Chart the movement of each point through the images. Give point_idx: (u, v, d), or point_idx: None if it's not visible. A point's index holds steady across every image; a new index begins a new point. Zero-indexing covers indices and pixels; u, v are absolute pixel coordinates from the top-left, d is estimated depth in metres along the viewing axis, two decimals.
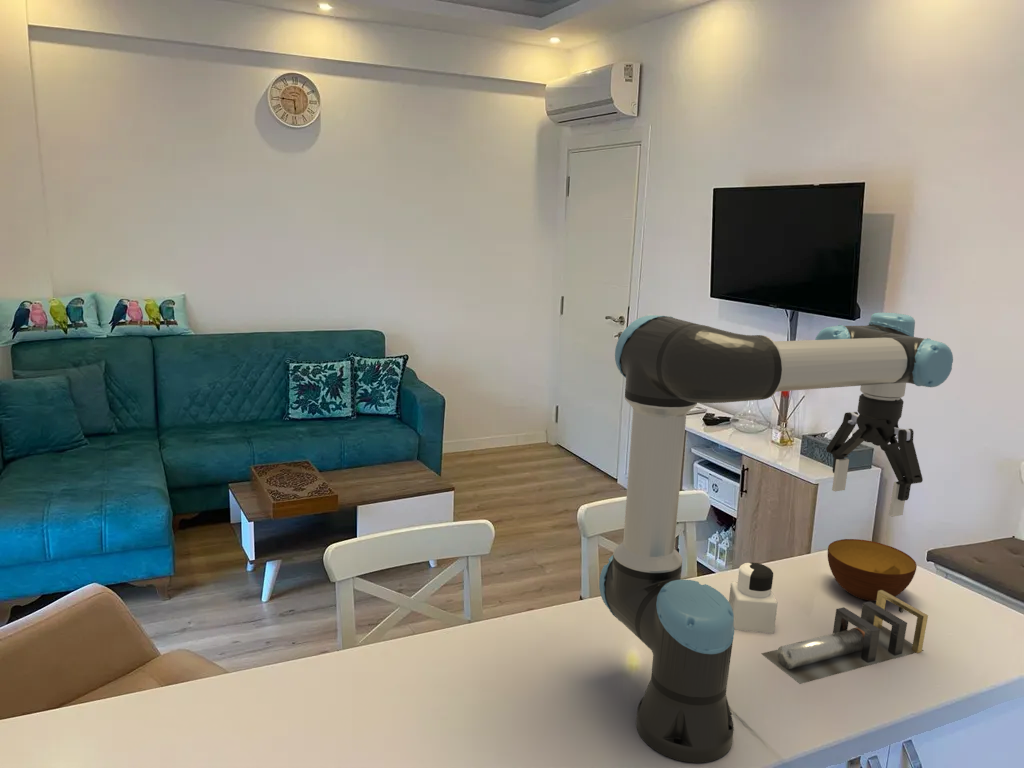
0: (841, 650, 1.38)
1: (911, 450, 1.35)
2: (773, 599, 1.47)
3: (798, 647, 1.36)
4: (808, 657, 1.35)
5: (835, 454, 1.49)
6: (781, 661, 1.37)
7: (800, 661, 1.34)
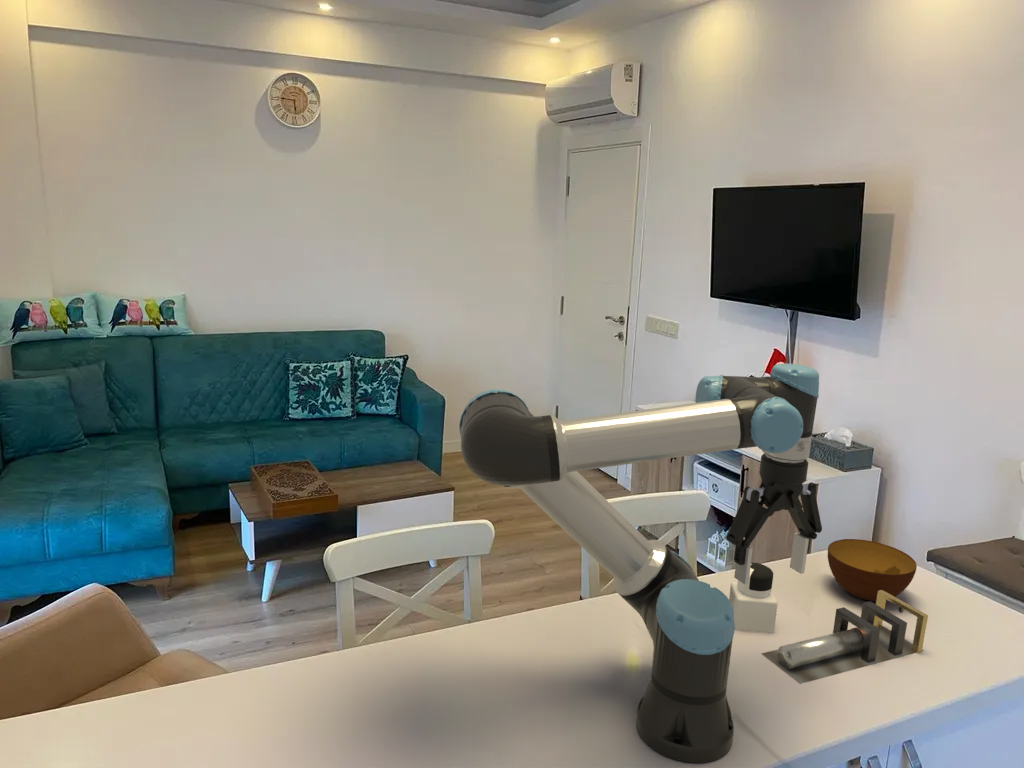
0: (841, 650, 1.38)
1: (744, 511, 1.24)
2: (773, 599, 1.47)
3: (798, 646, 1.36)
4: (808, 657, 1.35)
5: None
6: (781, 661, 1.37)
7: (800, 661, 1.34)
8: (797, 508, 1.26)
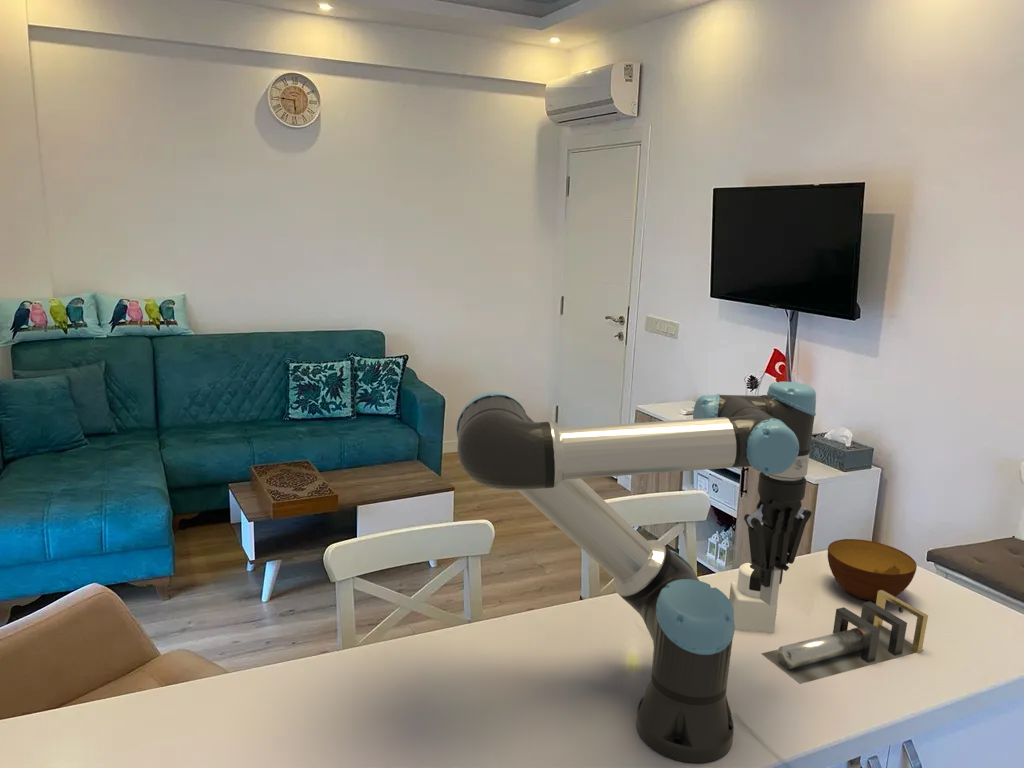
0: (841, 651, 1.38)
1: (754, 537, 1.26)
2: None
3: (798, 647, 1.36)
4: (808, 657, 1.35)
5: None
6: (781, 661, 1.37)
7: (800, 661, 1.34)
8: (787, 528, 1.26)
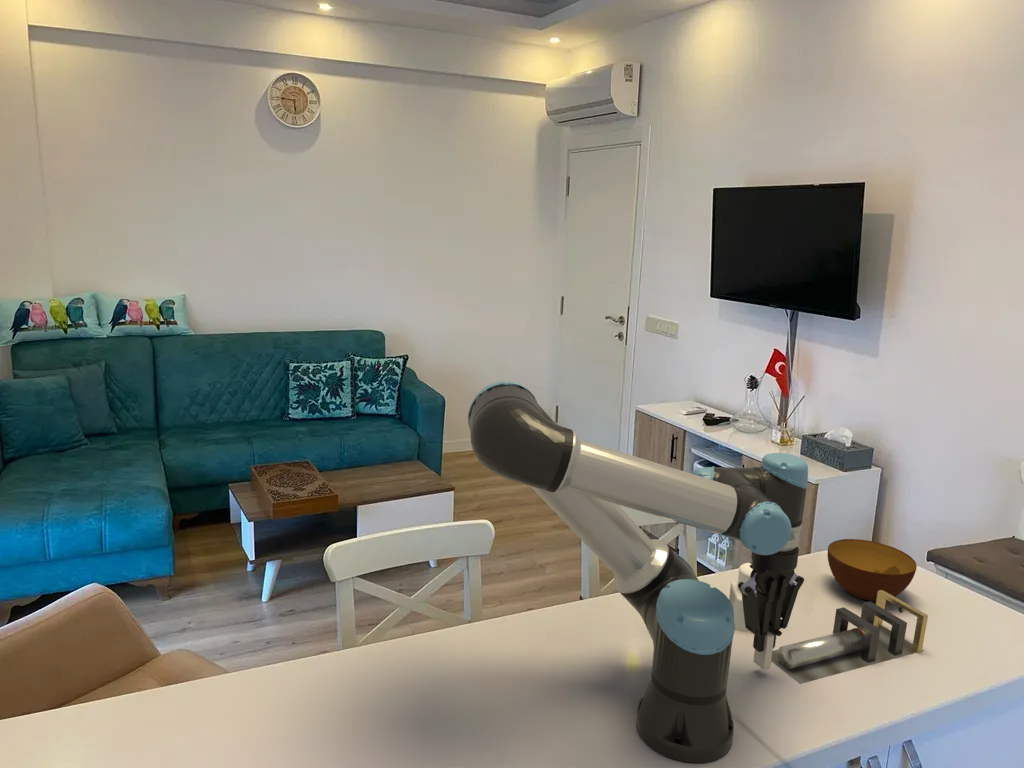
0: (841, 651, 1.38)
1: (748, 605, 1.29)
2: None
3: (799, 647, 1.36)
4: (809, 657, 1.35)
5: None
6: (781, 661, 1.37)
7: (800, 661, 1.34)
8: (780, 595, 1.29)
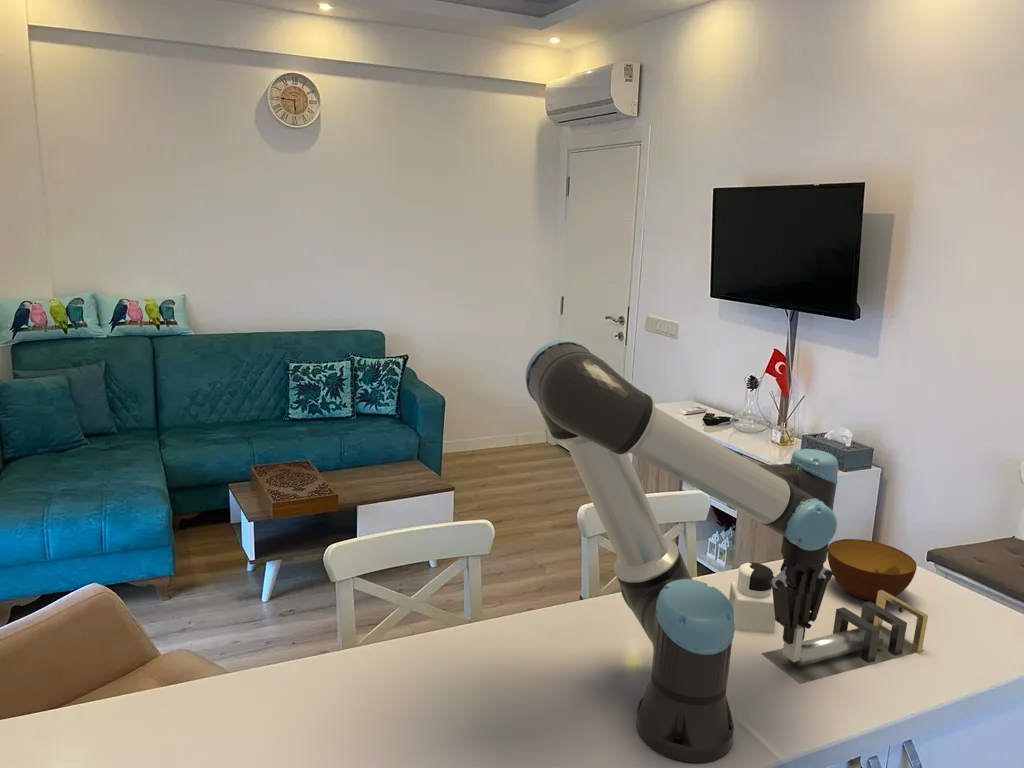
0: (849, 649, 1.39)
1: (778, 598, 1.31)
2: None
3: (807, 645, 1.36)
4: (817, 656, 1.36)
5: None
6: None
7: (809, 659, 1.35)
8: (810, 588, 1.32)
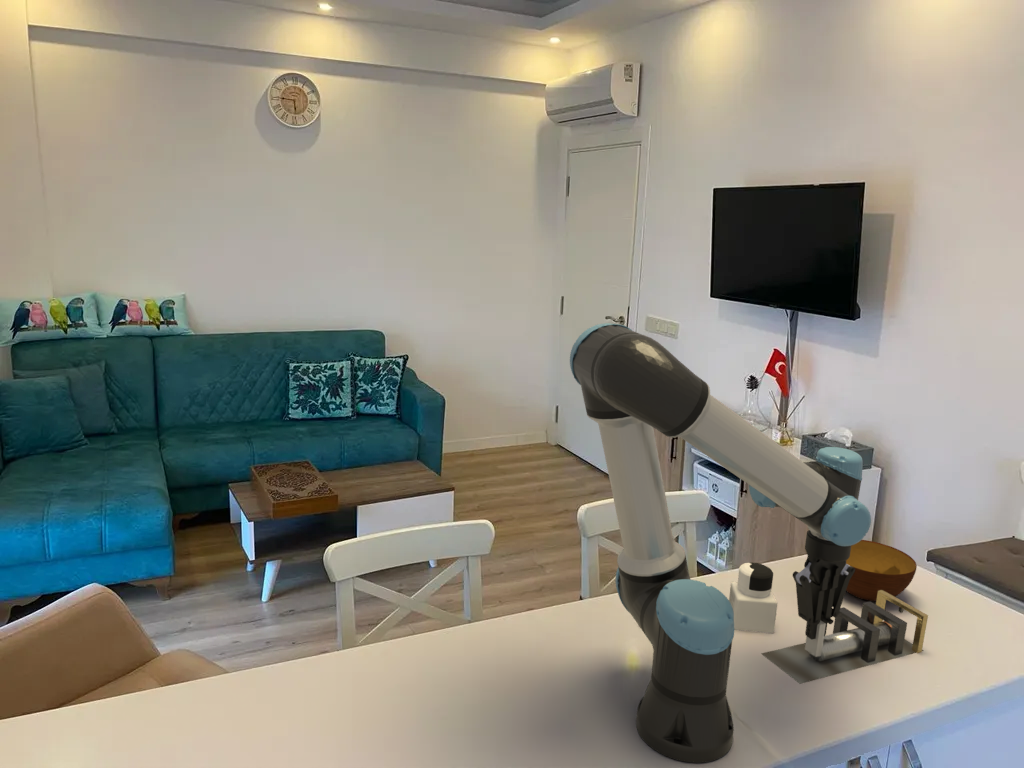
0: None
1: (802, 593, 1.33)
2: (773, 599, 1.47)
3: (829, 640, 1.38)
4: (838, 650, 1.38)
5: None
6: None
7: (830, 654, 1.37)
8: (833, 584, 1.34)
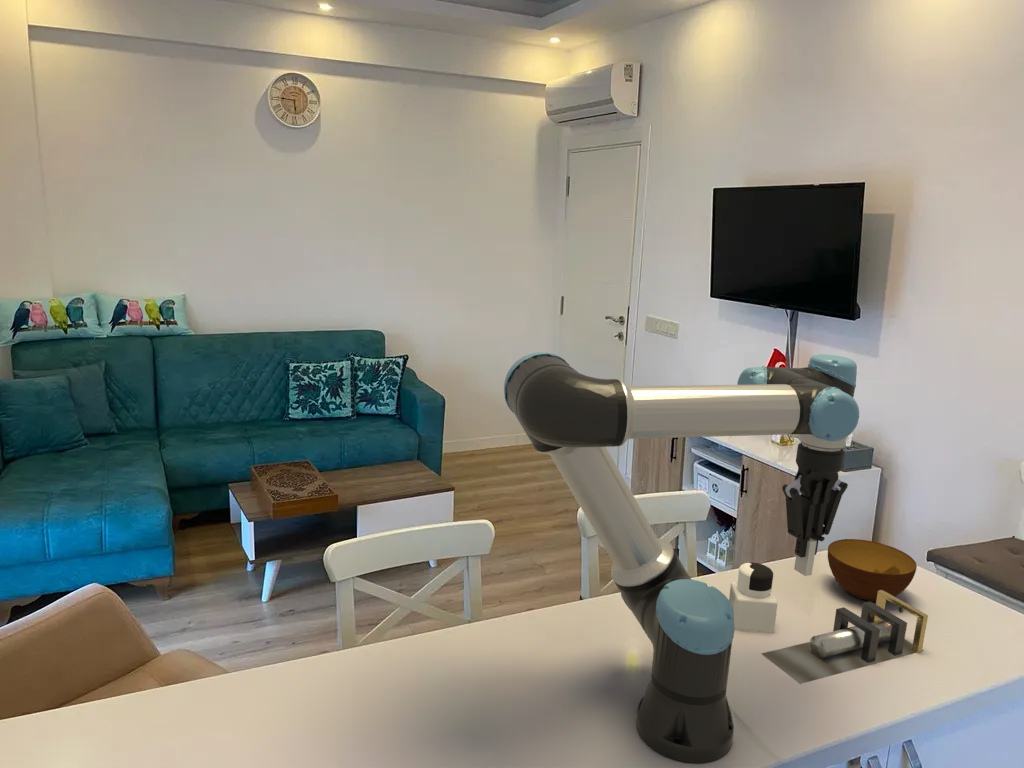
0: None
1: (792, 507, 1.28)
2: (773, 599, 1.47)
3: (829, 635, 1.40)
4: (840, 644, 1.39)
5: None
6: (815, 652, 1.40)
7: (832, 647, 1.38)
8: (824, 499, 1.29)
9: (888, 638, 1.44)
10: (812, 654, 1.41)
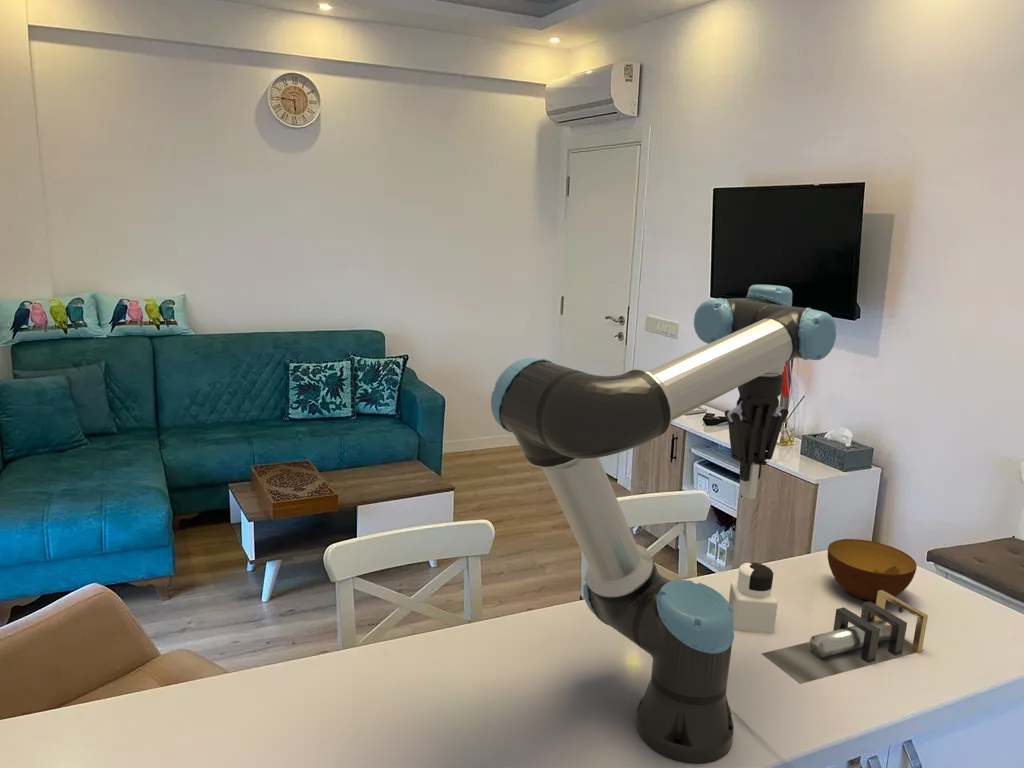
0: None
1: (734, 432, 1.34)
2: (773, 599, 1.47)
3: (828, 634, 1.40)
4: (840, 643, 1.39)
5: None
6: (815, 652, 1.40)
7: (832, 646, 1.38)
8: (765, 423, 1.34)
9: (888, 637, 1.44)
10: (812, 654, 1.41)
